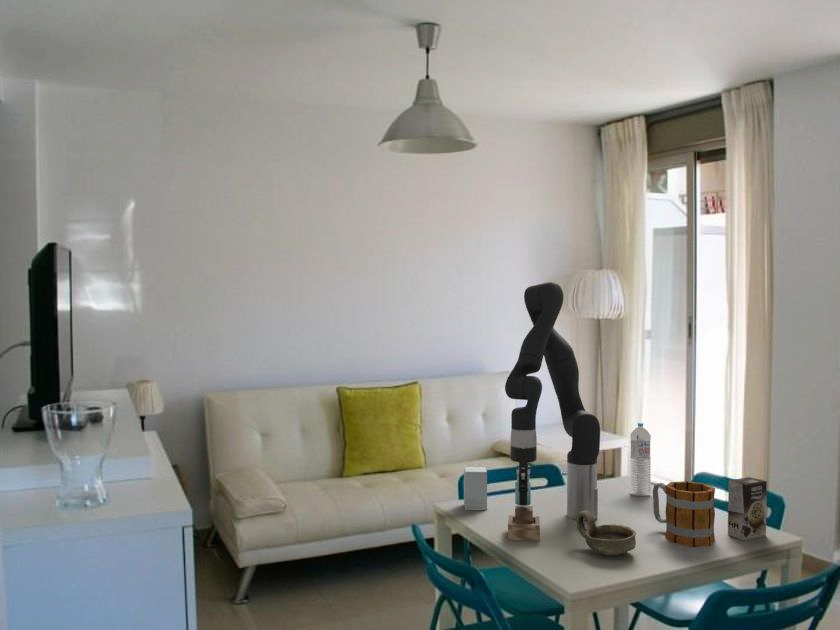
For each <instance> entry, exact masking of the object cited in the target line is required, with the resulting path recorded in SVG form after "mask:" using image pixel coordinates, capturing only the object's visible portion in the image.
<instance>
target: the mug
mask: <svg viewBox="0 0 840 630" xmlns="http://www.w3.org/2000/svg"><path fill="white" fill-rule="evenodd" d="M659 487H660V488H661V489H662V491H663V492H664V493H665V495H666V496H665V497H666V501H665V502H666V503H665V518H662V517H661V514H660V499H659ZM715 492H716V487H713V486H711V485H709V484H707V483H703V482H694V481H689V480H688V481H687V480H684V481H683V480H682V481H670V482H668V483H667V484H664V482H659V483H655V484H654V485H653V488H652V500H653V501H652V505H653V506H652V507H653V516H654V518H655V520H656V521H657V522H658V523H660V524H666V526H665V527H666V531H665V535H664V536H665V537H664V538H665V539H667V540H668V541H670V542H671V543H673V544H675V545H681V546H687V547H690V548H691V547H692V548H698V547H710V546H712V545H713V544H714V543H715V541H716V537H715V518H716V511H715Z"/></svg>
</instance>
